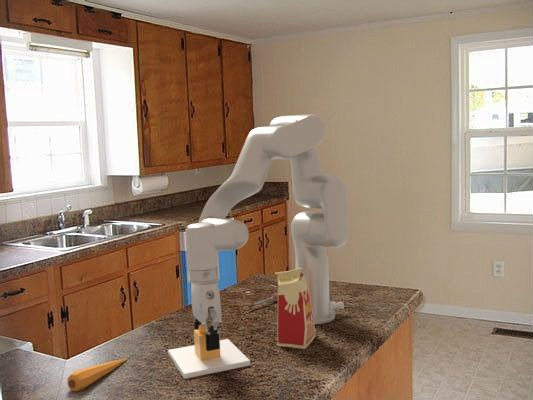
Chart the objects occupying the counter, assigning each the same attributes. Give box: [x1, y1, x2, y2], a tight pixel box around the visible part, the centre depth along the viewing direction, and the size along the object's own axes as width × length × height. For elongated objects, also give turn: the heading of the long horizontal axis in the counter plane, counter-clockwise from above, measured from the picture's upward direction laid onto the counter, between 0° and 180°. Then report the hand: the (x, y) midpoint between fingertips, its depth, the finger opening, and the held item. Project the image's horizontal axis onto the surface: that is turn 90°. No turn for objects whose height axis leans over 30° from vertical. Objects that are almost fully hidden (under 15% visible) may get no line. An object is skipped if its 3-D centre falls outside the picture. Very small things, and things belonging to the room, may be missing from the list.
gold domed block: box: [193, 324, 221, 361], centre depth 138 cm, size 5×5×8 cm
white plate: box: [167, 338, 251, 380], centre depth 138 cm, size 16×16×6 cm
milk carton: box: [274, 267, 316, 350], centre depth 147 cm, size 9×9×20 cm
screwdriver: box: [245, 292, 278, 309], centre depth 184 cm, size 25×3×3 cm, turn 138°
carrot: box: [66, 358, 129, 392], centre depth 132 cm, size 20×4×4 cm, turn 157°
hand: (207, 342), depth 138 cm, fingers open, 9 cm apart
